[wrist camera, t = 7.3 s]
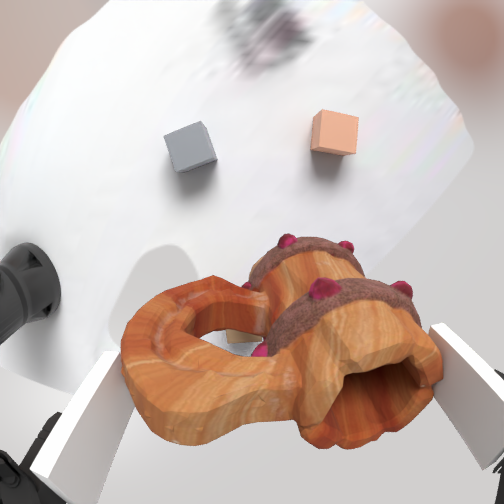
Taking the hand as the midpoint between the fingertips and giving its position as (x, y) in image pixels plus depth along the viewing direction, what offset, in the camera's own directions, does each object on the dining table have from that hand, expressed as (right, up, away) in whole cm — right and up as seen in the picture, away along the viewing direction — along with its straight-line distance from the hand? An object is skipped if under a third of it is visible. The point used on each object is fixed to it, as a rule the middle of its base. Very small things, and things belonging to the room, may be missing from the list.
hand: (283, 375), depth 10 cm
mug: (0, +3, +12) cm, 12 cm away
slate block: (-9, +19, +27) cm, 34 cm away
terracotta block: (+10, +21, +26) cm, 35 cm away
